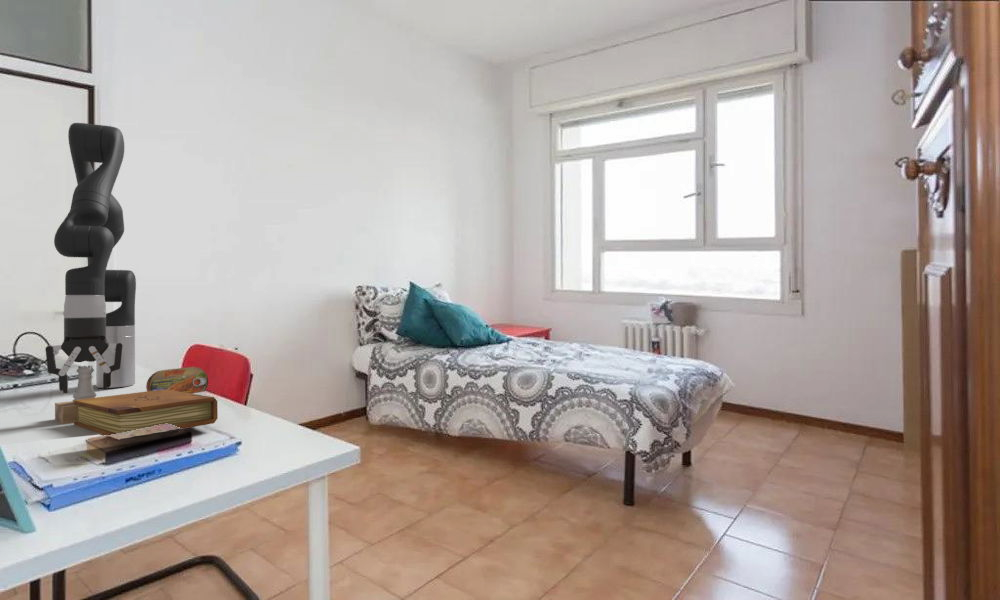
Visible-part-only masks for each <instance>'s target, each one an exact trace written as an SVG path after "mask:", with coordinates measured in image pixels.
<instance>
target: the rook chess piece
mask: <svg viewBox="0 0 1000 600" xmlns="http://www.w3.org/2000/svg"><path fill="white" fill-rule="evenodd" d="M77 367H78V368H77V369H76V370H75V371H76V372H77V374H78V376H77V377H76V378H77V382H78V383H77V388H76V391H74V393H73V395H72V398H73V399H72V401H73V403H74V400H80V399H88V398H96V397H98V395H97V393H96V392H95V390H94V386H93V378H94V376H93V375H92V374H93V372H95V369H94V367H93V365H83V366H82V365H79V366H77Z"/></svg>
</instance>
